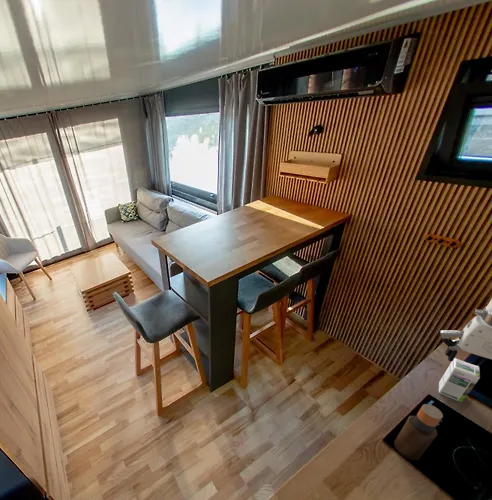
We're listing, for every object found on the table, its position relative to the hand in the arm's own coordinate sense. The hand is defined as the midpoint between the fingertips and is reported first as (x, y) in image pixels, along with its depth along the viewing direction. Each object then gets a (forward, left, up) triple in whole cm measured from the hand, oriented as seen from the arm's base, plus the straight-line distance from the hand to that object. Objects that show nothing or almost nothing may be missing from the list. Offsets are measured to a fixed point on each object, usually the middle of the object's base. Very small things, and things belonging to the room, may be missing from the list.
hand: (476, 366), depth 69 cm
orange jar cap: (+5, +11, -16) cm, 20 cm away
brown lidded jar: (+5, +11, -34) cm, 36 cm away
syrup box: (-5, -21, -34) cm, 40 cm away
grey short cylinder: (+5, +11, -20) cm, 23 cm away
